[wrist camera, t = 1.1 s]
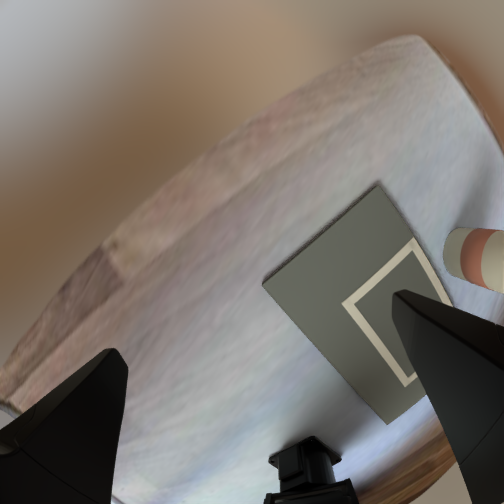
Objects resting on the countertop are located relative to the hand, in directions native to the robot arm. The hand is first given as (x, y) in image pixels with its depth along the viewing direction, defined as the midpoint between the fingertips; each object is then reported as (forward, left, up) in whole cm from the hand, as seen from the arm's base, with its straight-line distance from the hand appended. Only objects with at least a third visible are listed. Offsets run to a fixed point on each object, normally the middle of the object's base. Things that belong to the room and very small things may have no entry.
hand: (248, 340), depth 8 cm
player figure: (-13, -16, -15) cm, 25 cm away
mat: (-13, -5, -15) cm, 21 cm away
